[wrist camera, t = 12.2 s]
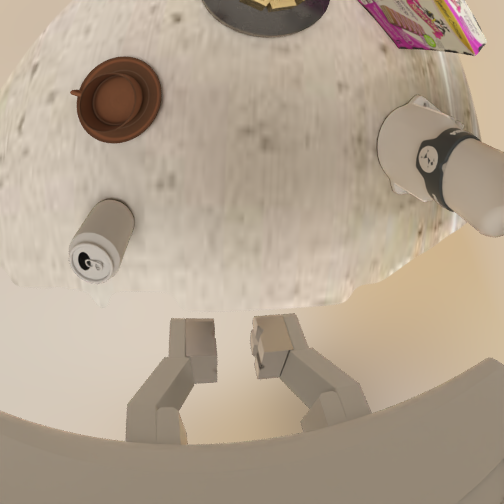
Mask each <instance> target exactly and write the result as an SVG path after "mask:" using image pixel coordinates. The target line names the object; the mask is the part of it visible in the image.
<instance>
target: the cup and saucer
mask: <svg viewBox="0 0 504 504" xmlns="http://www.w3.org/2000/svg"><path fill="white" fill-rule="evenodd" d="M70 93H71V94H72V95H75V96H78V97H77V113H78V117H79V120H80V122H81V125H82V126H83V128H84V129H85V130H86V132H87V133H88V134H90V135H91V136H92V137H94V138H95V139H97V140H99V141H102V142H106V143H122V142H126V141H129V140H131V139H133V138H135V137H137V136H139V135H140V134H141V133H143V132H144V131H145V130H146V129H147V128H148V127H149V126H150V124H151V123H152V122H153V120H154V119H155V117H156V115H157V113H158V110H159V107H160V103H161V86H160V82H159V79H158V77H157V75H156V73H155V72H154V71H153V69H152V68H151V67H150V66H149V65H148V64H146V63H145V62H143V61H141V60H139V59H136V58H133V57H116V58H112V59H109V60H107V61H105V62H103V63H101V64H99V65H98V66H97V67H95V68H94V69H93V70H92V71H91V72H90V73H89V74H88V76H87V77H86V78H85V80H84V81H83V83H82V85H81V87H80V90H72V91H71V92H70Z"/></svg>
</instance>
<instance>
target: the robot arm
mask: <svg viewBox="0 0 504 504" xmlns="http://www.w3.org/2000/svg"><path fill="white" fill-rule="evenodd" d="M423 105H424V106H423ZM463 129H464V124H463V123H461V122H459V121H458V120H455V118H453V117H452V116H448V115H446V114H444V113H442V112H441V111H440V110H439V109H438V108H436V107H435V106H434V105H433V104H432V103H430V102H429V101H428V100H427V99H425V98H424V97H422V96H420V95H416V96H414V97H413V98H412V99H411V100H410V102H409V103H408V104H406V105H404V106H401V107H399V108H397V109H395V110H394V111H393V112H392V113H391V114H390V115H389V116H388V117H387V118H386V120H385V121H384V123H383V125H382V127H381V130H380V133H379V137H378V157H379V161H380V164H381V166H382V168H383V170H384V172H385V173H386V174H387V176H388V177H389V179H390V182H391V187H392V190H393V191H394V192H395V193H397V194H407V193H410V194H412V195H413V196H415V197H416V198H418V199H419V200H421V201H423V202H426V201H433V200H435V201H436V202H437V203H438V204H439V205H441V206H442V207H444V208H446V209H448V210H449V211H452V212H456V213H457V214H458V215H459V216H461V217H462V218H463V219H464V220H466V221H467V222H468V223H469V224H470V225H472V226H473V227H474V228H475V229H476V230H477V231H479V232H480V233H481V234H483V235H485V236H489V237H500V236H503V235H504V152H502V151H500V150H498V149H495V148H493V147H491V146H489V145H487V144H484V143H482V142H481V141H480V140H479V139H478V138H477V137H476V136H474V135H472V134H471V133H469V132H467V131H464V130H463ZM252 324H253V330H252V331H251V336H250V344H251V351H252V355H253V356H255V357H256V358H255V363H254V366H255V370H256V375H257V379H267V378H278V377H280V379H281V380H282V381H283V382H284V383H285V384H286V385H287V387H288V388H289V389H291V391H292V392H293V393H294V394H295V395H296V396H297V397H298V398H299V399H300V400H301V401H302V402H303V403H304V404H305V405H306V406H307V407H308V408H309V409H310V410H309V411H308V412H307V414H306V415H305V416H304V418H303V419H302V420H301V426H302V429H303V432H302V433H298V434H292V435H287V436H281V437H275V438H269V439H261V440H253V441H244V442H234V443H221V444H197V445H188V443H187V433H186V431H185V428H184V425H183V422H182V420H181V417H180V414H179V410H180V408H181V407H182V405H183V403H184V401H185V400H186V398H187V396H188V395H189V393H190V391H191V390H192V388H193V386H194V384H196V383H213V382H217V348H216V339H215V327H214V319H195V318H192V319H191V318H190V319H189V318H186V319H180V318H178V319H177V318H175V319H174V318H171V321H170V335H169V336H170V337H169V357H165V358H164V359H163V360H162V361H161V362H160V364H159V365H158V366H157V367H156V369H155V370H154V371H153V373H152V374H151V375H150V376H149V378H148V379H147V380H146V381H145V383H144V384H143V385H142V386H141V388H140V389H139V390H138V392H137V393H136V394H135V396H134V397H133V398H132V399H131V400H130V402H129V403H128V404H127V419H126V441H118V440H110V439H103V438H97V437H91V436H85V435H81V434H76V433H71V432H67V431H62V430H58V429H55V428H51V427H47V426H44V425H40V424H37V423H33V422H30V421H27V420H24V419H21V418H19V417H16V416H13V415H10V414H8V413H5V412H3V411H0V504H504V365H503V364H501V363H500V362H498V361H497V360H495V359H493V358H487V359H485V360H483V361H482V362H480V363H478V364H477V365H475V366H473V367H472V368H470V369H468V370H467V371H465V372H463V373H461V374H460V375H458V376H456V377H454V378H453V379H450V380H449V381H447V382H445V383H443V384H441V385H439V386H437V387H435V388H433V389H431V390H429V391H426V392H424V393H422V394H420V395H418V396H416V397H413V398H411V399H408V400H406V401H404V402H401V403H399V404H396V405H394V406H391V407H388V408H386V409H383V410H380V411H377V412H375V413H371V410H370V408H369V405H368V403H367V400H366V398H365V396H364V393H363V391H362V389H361V386H360V384H359V383H358V382H357V381H355V380H354V379H353V378H351V377H350V376H349V375H347V374H346V373H345V372H343V371H342V370H341V369H339V368H338V367H337V366H335V365H334V364H333V363H332V362H330V361H329V360H328V359H326V358H325V357H324V356H322V355H321V354H320V353H318V352H317V351H316V350H315V349H314V348H309V347H308V345H307V342H306V339H305V337H304V334H303V331H302V329H301V326H300V324H299V321H298V318H297V316H296V315H295V313H293V314H281V315H280V314H278V315H265V316H254V318H253V323H252Z"/></svg>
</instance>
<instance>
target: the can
mask: <svg viewBox="0 0 504 504" xmlns="http://www.w3.org/2000/svg"><path fill="white" fill-rule="evenodd" d="M133 228H134V218H133V216H132V213H131V211H130V210H129V209H128V208H127V206H125V205H124V204H122V203H121V202H118V201H115V200H104V201H101V202H99V203H98V204H97V205H96V206H95V207H94V208H93V209H92V211H91V212H90V214H89V215H88V217H87V218H86V219H85V221H84V222H83V224H82V225H81V227H80V228H79V230H78V231H77V233H76V234H75V236H74V238H73V239H72V241H71V243H70V245H69V262H70V266H71V268H72V270H73V271H74V273H75V274H76V275H77V276H78V277H79V278H81V279H82V280H84V281H86V282H89V283H94V284H100V283H104V282H106V281H107V280H109V279H110V278H111V277H113V276H114V275H115V274H116V273H117V272H118V270H119V268H120V265H121V262H122V259H123V256H124V253H125V250H126V248H127V245H128V242H129V240H130V237H131V234H132V232H133Z"/></svg>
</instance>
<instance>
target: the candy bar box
mask: <svg viewBox="0 0 504 504" xmlns="http://www.w3.org/2000/svg"><path fill="white" fill-rule="evenodd" d="M358 1H359V2H360V3H361V4H362V5H363V6H364V7H365V8H366V9H367V10H368V11H369V12H370V13H371V15H372V16H373V17H374V18H375V19H376V20H377V21H378V23H379V24H380V25H381V26H382V27H383V29H384V30H385V31H386V32H387V34H388V35H389V36H390V37H391V39H392V40H393V41H394V43H395V44H396V45H397V47H398V48H399V49H423V50H437V51H445V52H453V53H461V54H466V55H472V56H476V55H477V54H478V52H479V51H480V50H481V48H482V47H483V46H484V45H485V44H486V43H487V40H486V38H485V36H484V34H483V32H482V30H481V28H480V26H479V25H478V23H477V21H476V19H475V17H474V15H473V14H472V12H471V10H470V8H469V7H468V5H467V3H466V2H465V0H358Z"/></svg>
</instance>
